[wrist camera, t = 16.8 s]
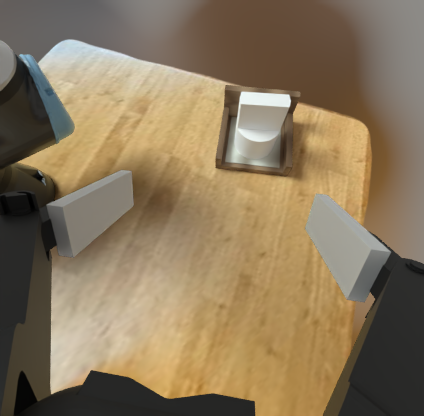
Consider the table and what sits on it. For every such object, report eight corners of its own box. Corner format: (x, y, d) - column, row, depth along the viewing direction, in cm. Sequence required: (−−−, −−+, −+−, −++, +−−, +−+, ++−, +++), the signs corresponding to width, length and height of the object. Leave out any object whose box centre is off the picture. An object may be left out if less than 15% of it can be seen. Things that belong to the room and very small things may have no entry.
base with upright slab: (232, 157, 47) (238, 116, 36) (235, 126, 51) (241, 79, 39) (273, 161, 47) (291, 120, 36) (273, 128, 50) (290, 82, 39)
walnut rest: (215, 167, 48) (215, 144, 41) (224, 114, 54) (225, 85, 46) (286, 176, 47) (300, 154, 39) (287, 120, 53) (300, 91, 45)
